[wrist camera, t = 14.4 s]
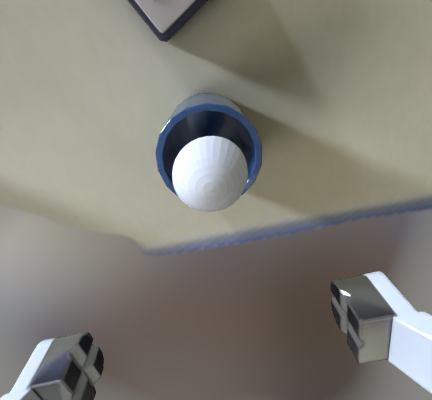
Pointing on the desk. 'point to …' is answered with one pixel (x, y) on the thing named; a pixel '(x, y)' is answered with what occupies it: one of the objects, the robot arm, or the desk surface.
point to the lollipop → (210, 173)
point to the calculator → (166, 14)
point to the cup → (207, 133)
